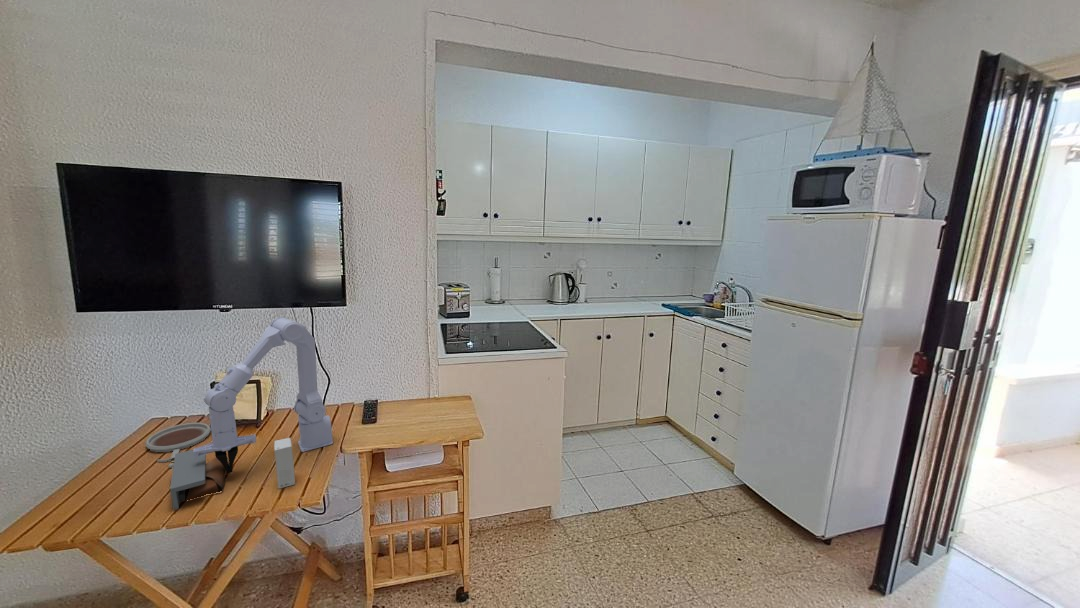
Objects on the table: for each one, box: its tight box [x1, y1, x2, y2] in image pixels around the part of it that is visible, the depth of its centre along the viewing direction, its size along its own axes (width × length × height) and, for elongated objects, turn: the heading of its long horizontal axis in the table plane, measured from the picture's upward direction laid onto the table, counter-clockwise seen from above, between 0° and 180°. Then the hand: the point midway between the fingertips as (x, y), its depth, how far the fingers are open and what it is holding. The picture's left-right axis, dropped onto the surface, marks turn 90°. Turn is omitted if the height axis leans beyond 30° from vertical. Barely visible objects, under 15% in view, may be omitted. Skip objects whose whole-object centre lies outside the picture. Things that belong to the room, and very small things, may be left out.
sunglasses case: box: [185, 456, 229, 502], centre depth 123 cm, size 18×7×7 cm, turn 33°
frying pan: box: [144, 422, 211, 469], centre depth 140 cm, size 17×3×28 cm
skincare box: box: [273, 437, 296, 490], centre depth 123 cm, size 6×4×12 cm
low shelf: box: [169, 449, 207, 511], centre depth 120 cm, size 7×20×6 cm, turn 37°
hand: (229, 471), depth 126 cm, fingers closed
